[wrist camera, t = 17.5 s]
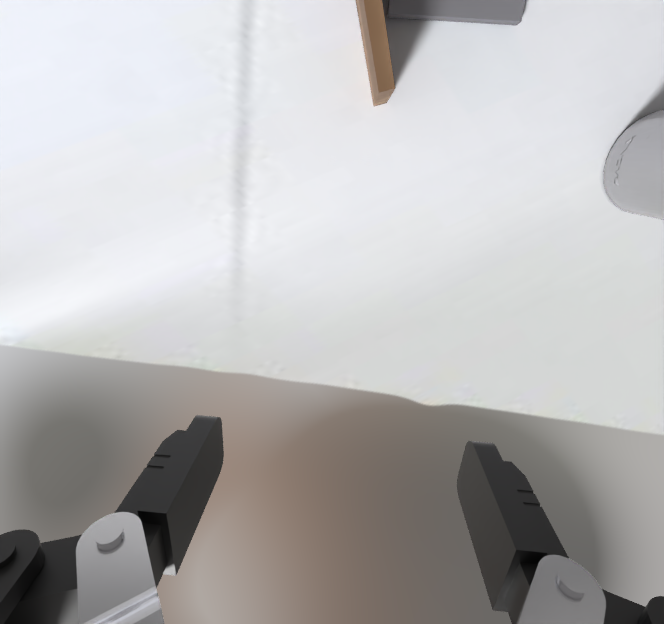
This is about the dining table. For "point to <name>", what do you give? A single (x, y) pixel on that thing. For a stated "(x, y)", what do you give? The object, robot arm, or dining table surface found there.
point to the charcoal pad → (459, 10)
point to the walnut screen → (376, 49)
